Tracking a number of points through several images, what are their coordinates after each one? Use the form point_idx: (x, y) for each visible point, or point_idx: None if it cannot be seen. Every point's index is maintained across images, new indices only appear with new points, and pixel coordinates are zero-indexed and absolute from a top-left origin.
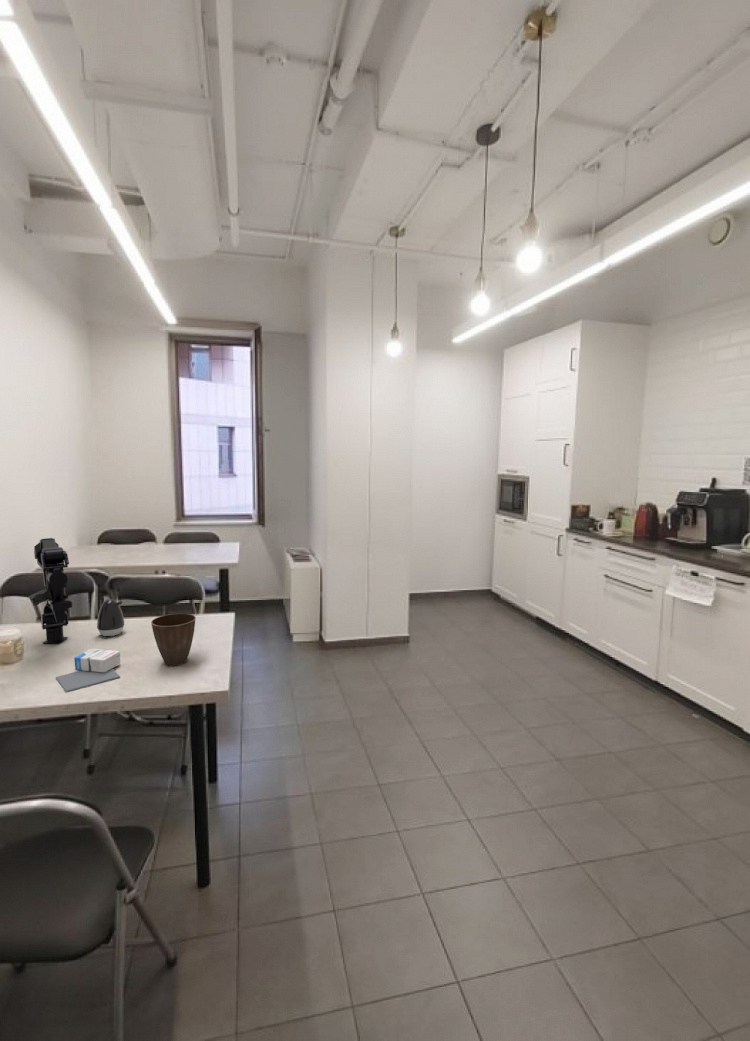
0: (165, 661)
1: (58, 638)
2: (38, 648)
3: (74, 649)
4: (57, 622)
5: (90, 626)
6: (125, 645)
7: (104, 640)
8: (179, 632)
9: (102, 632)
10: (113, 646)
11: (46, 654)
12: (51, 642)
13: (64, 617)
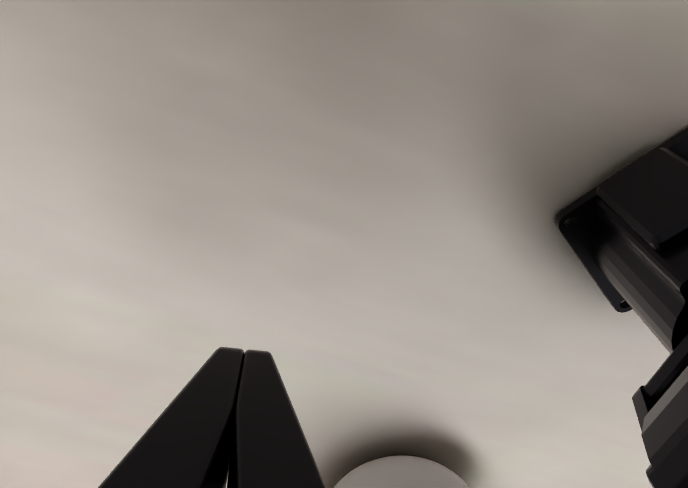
0: None
1: (606, 246)
2: (625, 35)
3: (288, 242)
4: (213, 357)
5: None
6: (95, 466)
7: (313, 429)
8: None
9: (373, 478)
10: (131, 423)
11: (363, 16)
12: (614, 175)
13: (653, 481)
